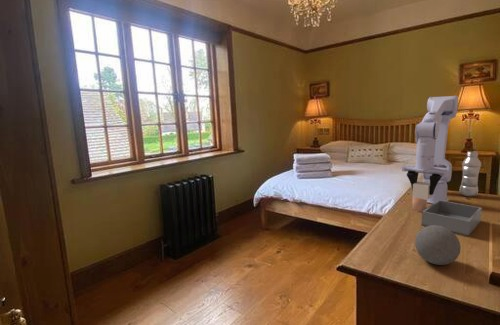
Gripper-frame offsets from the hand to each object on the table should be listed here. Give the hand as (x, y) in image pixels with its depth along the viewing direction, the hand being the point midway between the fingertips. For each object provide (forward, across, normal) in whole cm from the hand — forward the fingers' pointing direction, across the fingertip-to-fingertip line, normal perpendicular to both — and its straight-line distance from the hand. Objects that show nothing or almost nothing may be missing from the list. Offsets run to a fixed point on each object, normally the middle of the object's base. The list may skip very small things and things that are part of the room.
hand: (422, 192), depth 104 cm
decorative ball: (+10, +14, -31) cm, 35 cm away
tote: (+9, +9, +1) cm, 13 cm away
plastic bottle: (+10, +5, +41) cm, 42 cm away
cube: (+2, 0, 0) cm, 2 cm away
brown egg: (+10, -3, +8) cm, 13 cm away
